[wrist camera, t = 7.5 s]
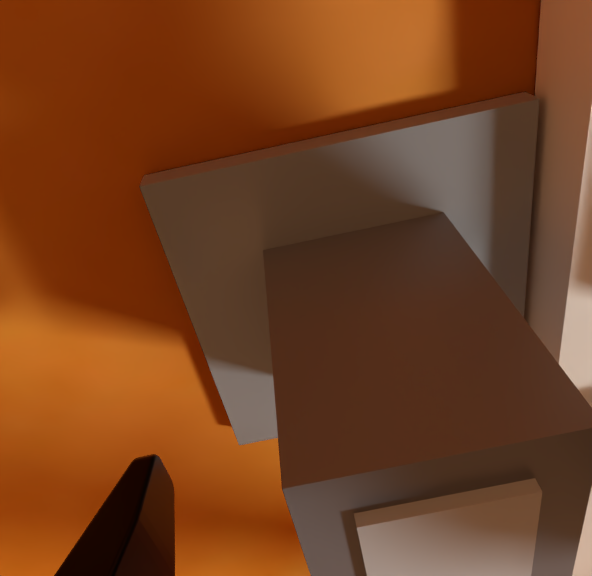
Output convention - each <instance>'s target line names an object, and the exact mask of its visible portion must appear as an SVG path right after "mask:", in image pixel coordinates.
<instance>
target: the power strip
mask: <svg viewBox="0 0 592 576" xmlns="http://www.w3.org/2000/svg"><path fill="white" fill-rule="evenodd" d="M535 97H537V98H539V113H538V127H537V141H536V155H535V169H534V183H533V197H532V211H531V225H530V239H529V253H528V267H527V281H526V295H525V309H524V319H525V320H526V321H527V323H528V324H529V325H530V327H531V328H532V329H533V331H534V332H535V333H536V335H537V336H538V337H539V339H540V340H541V341H542V343H543V344H544V345H545V347H546V348H547V349H548V350H549V352H550V353H551V354H552V356H553V357H554V358H555V360H556V361H557V362H558V364H559V365H560V366H561V368H562V369H563V370H564V372H565V373H566V374H567V376H568V377H569V378H570V380H571V381H572V382H573V384H574V385H575V386H576V387H577V389H578V390H579V391H580V393H581V394H582V395H583V397H584V398H585V399H586V401H587V402H588V403H589V405H590V406H591V407H592V0H541V8H540V23H539V38H538V53H537V69H536V84H535ZM572 576H592V487H591V492H590V496H589V501H588V505H587V510H586V515H585V519H584V524H583V528H582V533H581V537H580V542H579V546H578V551H577V555H576V560H575V564H574V569H573V574H572Z"/></svg>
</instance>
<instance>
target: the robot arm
mask: <svg viewBox="0 0 592 576" xmlns="http://www.w3.org/2000/svg"><path fill="white" fill-rule="evenodd" d="M54 576H175V520H174V487H173V483H172V480H171V478H170V476H169V474H168V472H167V470H166V468H165V467H164V465H163V463H162V461H161V459H160V458H159V456H157V455H156V454H152V455H147V456H143V457H138V458H136V459H134V460H133V461H132V462H131V464H130V465H129V467H128V468H127V470H126V471H125V473H124V474H123V476H122V477H121V478H120V480H119V481H118V483H117V484H116V486H115V487H114V489H113V490H112V492H111V493H110V495H109V496H108V498H107V499H106V500H105V502H104V503H103V505H102V506H101V508H100V509H99V511H98V512H97V514H96V515H95V517H94V518H93V520H92V521H91V522H90V524H89V525H88V527H87V528H86V530H85V531H84V533H83V534H82V536H81V537H80V539H79V540H78V541H77V543H76V544H75V546H74V547H73V549H72V550H71V552H70V553H69V555H68V556H67V558H66V559H65V561H64V562H63V563H62V565H61V566H60V568H59V569H58V571H57V572H56V574H55V575H54Z"/></svg>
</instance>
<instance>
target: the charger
mask: <svg viewBox="0 0 592 576" xmlns="http://www.w3.org/2000/svg"><path fill="white" fill-rule="evenodd" d="M263 257H264V269H265V281H266V294H267V306H268V319H269V331H270V344H271V356H272V369H273V381H274V394H275V406H276V418H277V431H278V443H279V456H280V468H281V481H282V490H283V493H284V496H285V499H286V502H287V505H288V508H289V511H290V514H291V517H292V520H293V523H294V526H295V529H296V532H297V535H298V538H299V541H300V544H301V547H302V550H303V553H304V556H305V559H306V562H307V565H308V568H309V571H310V574H311V576H572V574H573V569H574V564H575V560H576V555H577V551H578V546H579V542H580V537H581V533H582V528H583V524H584V519H585V515H586V510H587V505H588V501H589V496H590V492H591V487H592V407H591V406H590V405H589V403H588V402H587V401H586V399H585V398H584V397H583V395H582V394H581V393H580V391H579V390H578V389H577V387H576V386H575V385H574V384H573V382H572V381H571V380H570V378H569V377H568V376H567V374H566V373H565V372H564V370H563V369H562V368H561V366H560V365H559V364H558V362H557V361H556V360H555V358H554V357H553V356H552V354H551V353H550V352H549V350H548V349H547V348H546V347H545V345H544V344H543V343H542V341H541V340H540V339H539V337H538V336H537V335H536V333H535V332H534V331H533V329H532V328H531V327H530V325H529V324H528V323H527V321H526V320H525V319H524V317H523V316H522V315H521V314H520V312H519V311H518V310H517V308H516V307H515V306H514V304H513V303H512V302H511V300H510V299H509V298H508V296H507V295H506V294H505V292H504V291H503V290H502V288H501V287H500V286H499V284H498V283H497V282H496V281H495V279H494V278H493V277H492V275H491V274H490V273H489V271H488V270H487V269H486V267H485V266H484V265H483V263H482V262H481V261H480V259H479V258H478V257H477V255H476V254H475V253H474V251H473V250H472V249H471V248H470V246H469V245H468V244H467V242H466V241H465V240H464V238H463V237H462V236H461V234H460V233H459V232H458V230H457V229H456V228H455V226H454V225H453V224H452V222H451V221H450V220H449V218H448V217H447V216H446V215H445V213H444V212H442V213H437V214H433V215H428V216H423V217H418V218H414V219H409V220H404V221H399V222H395V223H390V224H385V225H380V226H375V227H371V228H366V229H361V230H356V231H352V232H347V233H342V234H337V235H333V236H328V237H323V238H318V239H313V240H309V241H304V242H299V243H294V244H290V245H285V246H280V247H275V248H271V249H266V250H263Z"/></svg>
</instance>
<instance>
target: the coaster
mask: <svg viewBox="0 0 592 576" xmlns="http://www.w3.org/2000/svg"><path fill="white" fill-rule="evenodd" d="M538 113H539V98H537V97H535V96H533V95H531V94H529V93H527V92H521V93H516V94H512V95H507V96H503V97H498V98H494V99H489V100H485V101H480V102H475V103H471V104H466V105H462V106H457V107H453V108H448V109H444V110H439V111H434V112H430V113H425V114H421V115H416V116H412V117H407V118H403V119H398V120H393V121H389V122H384V123H380V124H375V125H371V126H366V127H362V128H357V129H352V130H348V131H343V132H339V133H334V134H330V135H325V136H321V137H316V138H311V139H307V140H302V141H298V142H293V143H289V144H284V145H280V146H275V147H270V148H266V149H261V150H257V151H252V152H248V153H243V154H239V155H234V156H229V157H225V158H220V159H216V160H211V161H207V162H202V163H198V164H193V165H188V166H184V167H179V168H175V169H170V170H166V171H161V172H156V173H152V174H147V175H144V176H143V179H142V181H141V184H140V186H139V187H140V190H141V192H142V195H143V197H144V200H145V202H146V205H147V208H148V210H149V213H150V215H151V218H152V221H153V223H154V226H155V228H156V231H157V234H158V236H159V239H160V241H161V244H162V246H163V249H164V252H165V254H166V257H167V259H168V262H169V265H170V267H171V270H172V272H173V275H174V278H175V280H176V283H177V285H178V288H179V291H180V293H181V296H182V298H183V301H184V303H185V306H186V309H187V311H188V314H189V316H190V319H191V322H192V324H193V327H194V329H195V332H196V335H197V337H198V340H199V342H200V345H201V347H202V350H203V353H204V355H205V358H206V360H207V363H208V366H209V368H210V371H211V373H212V376H213V379H214V381H215V384H216V386H217V389H218V392H219V394H220V397H221V399H222V402H223V404H224V407H225V410H226V412H227V415H228V417H229V420H230V423H231V425H232V428H233V430H234V433H235V436H236V438H237V441H238V443H239V445H244V444H249V443H253V442H258V441H263V440H268V439H273V438H278V431H277V418H276V406H275V394H274V381H273V369H272V356H271V344H270V331H269V319H268V306H267V294H266V281H265V269H264V257H263V250H266V249H271V248H275V247H280V246H285V245H290V244H294V243H299V242H304V241H309V240H313V239H318V238H323V237H328V236H333V235H337V234H342V233H347V232H352V231H356V230H361V229H366V228H371V227H375V226H380V225H385V224H390V223H395V222H399V221H404V220H409V219H414V218H418V217H423V216H428V215H433V214H437V213H442V212H444V213H445V215H446V216H447V217H448V218H449V220H450V221H451V222H452V224H453V225H454V226H455V228H456V229H457V230H458V232H459V233H460V234H461V236H462V237H463V238H464V240H465V241H466V242H467V244H468V245H469V246H470V248H471V249H472V250H473V251H474V253H475V254H476V255H477V257H478V258H479V259H480V261H481V262H482V263H483V265H484V266H485V267H486V269H487V270H488V271H489V273H490V274H491V275H492V277H493V278H494V279H495V281H496V282H497V283H498V284H499V286H500V287H501V288H502V290H503V291H504V292H505V294H506V295H507V296H508V298H509V299H510V300H511V302H512V303H513V304H514V306H515V307H516V308H517V310H518V311H519V312H520V314H521V315H522V316H523V317H524V309H525V295H526V281H527V267H528V253H529V239H530V225H531V211H532V197H533V183H534V169H535V155H536V141H537V127H538Z"/></svg>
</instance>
